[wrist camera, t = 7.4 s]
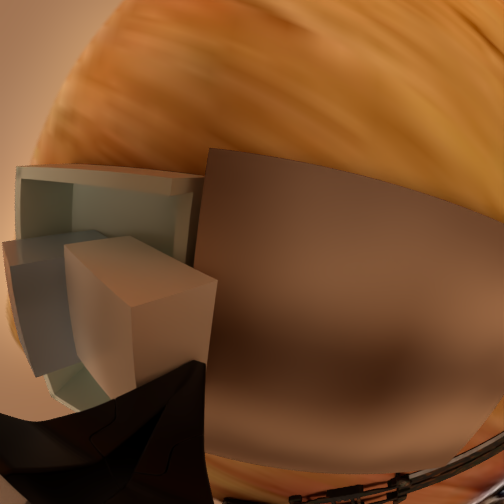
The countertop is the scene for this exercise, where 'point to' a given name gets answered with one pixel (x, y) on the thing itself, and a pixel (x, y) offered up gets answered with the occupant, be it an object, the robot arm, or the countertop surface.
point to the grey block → (42, 298)
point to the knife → (413, 477)
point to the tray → (106, 228)
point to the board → (345, 318)
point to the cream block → (135, 311)
